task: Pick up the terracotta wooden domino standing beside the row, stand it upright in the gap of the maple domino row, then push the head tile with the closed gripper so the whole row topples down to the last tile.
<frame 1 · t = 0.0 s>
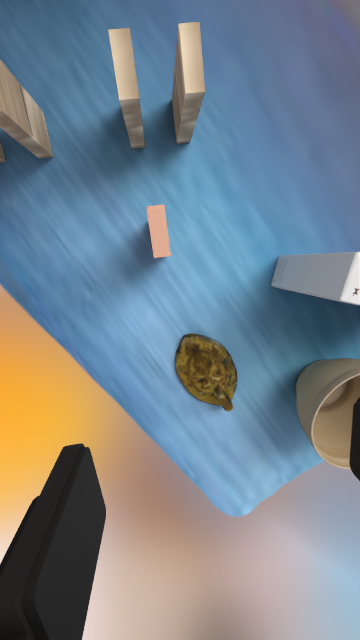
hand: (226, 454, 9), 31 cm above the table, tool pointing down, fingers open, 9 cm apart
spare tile: (158, 237, 36), on the table
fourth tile: (41, 135, 32), on the table
planter bowl: (319, 382, 45), on the table
seal: (206, 368, 43), on the table
head tile: (181, 121, 33), on the table
skincare box: (333, 281, 41), on the table
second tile: (135, 125, 33), on the table
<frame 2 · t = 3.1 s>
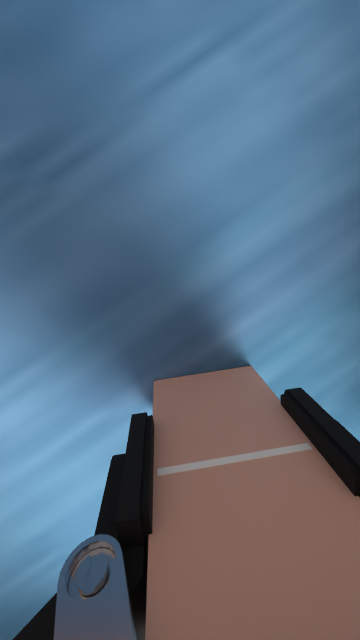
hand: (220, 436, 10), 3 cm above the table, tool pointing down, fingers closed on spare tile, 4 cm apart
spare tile: (204, 388, 13), on the table, touching gripper
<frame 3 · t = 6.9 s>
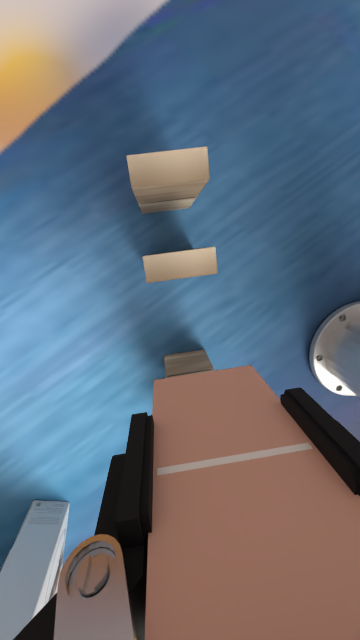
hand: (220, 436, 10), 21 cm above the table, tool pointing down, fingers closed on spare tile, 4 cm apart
last tile: (164, 201, 26), on the table
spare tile: (204, 388, 13), point 17 cm above the table, touching gripper
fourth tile: (172, 260, 28), on the table
skincare box: (49, 552, 38), on the table
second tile: (185, 359, 31), on the table
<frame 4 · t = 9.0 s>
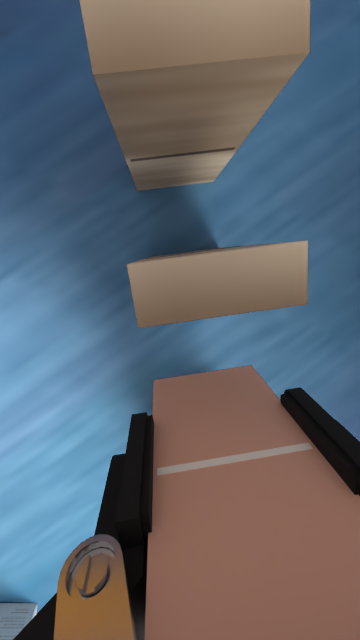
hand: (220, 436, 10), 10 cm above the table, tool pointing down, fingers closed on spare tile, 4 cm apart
last tile: (173, 170, 16), on the table
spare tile: (204, 388, 13), point 7 cm above the table, touching gripper
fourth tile: (185, 265, 18), on the table
when the fingers open (4 cm above the table, at t = 10.9 s): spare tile stays where it is, on the table.
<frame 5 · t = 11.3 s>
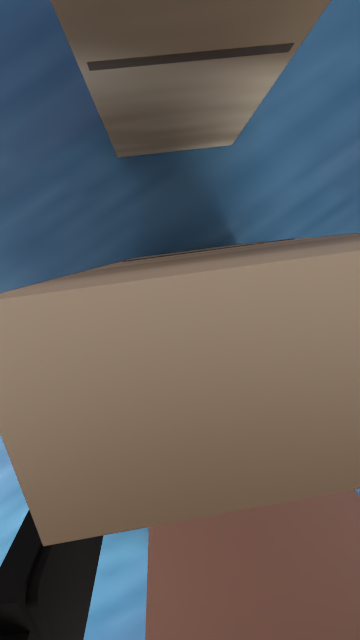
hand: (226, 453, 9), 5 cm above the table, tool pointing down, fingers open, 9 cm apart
last tile: (172, 127, 11), on the table
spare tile: (201, 378, 14), on the table
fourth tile: (188, 269, 12), on the table
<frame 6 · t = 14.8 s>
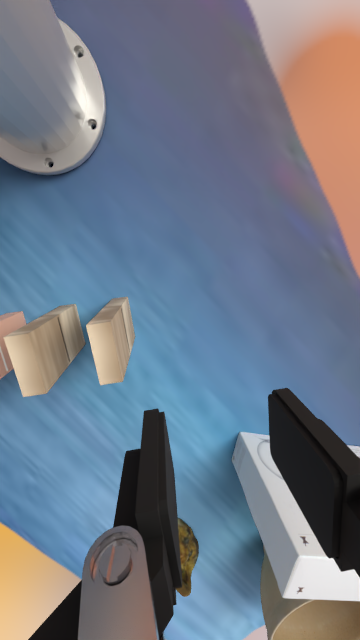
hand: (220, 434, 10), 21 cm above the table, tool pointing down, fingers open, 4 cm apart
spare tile: (20, 332, 29), on the table
planter bowl: (288, 539, 42), on the table
seal: (166, 538, 40), on the table
head tile: (123, 318, 30), on the table
skincare box: (300, 450, 38), on the table
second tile: (73, 325, 30), on the table
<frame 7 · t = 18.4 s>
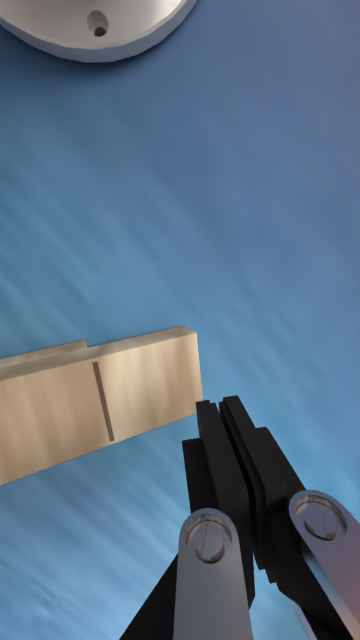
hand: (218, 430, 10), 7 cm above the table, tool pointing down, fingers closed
head tile: (193, 367, 15), point 1 cm above the table, tilted 72°, touching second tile
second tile: (95, 382, 15), point 1 cm above the table, tilted 72°, touching head tile, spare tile
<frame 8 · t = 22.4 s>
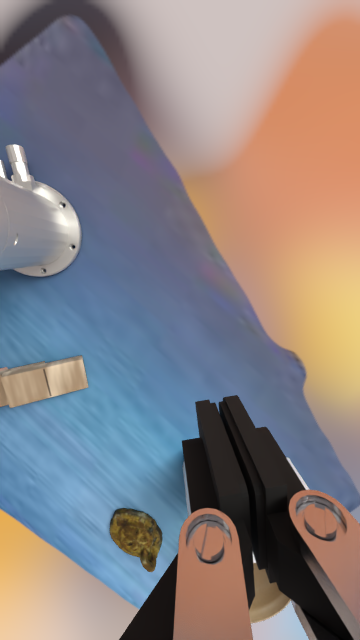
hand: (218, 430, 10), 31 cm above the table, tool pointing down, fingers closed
planter bowl: (232, 528, 54), on the table
seal: (137, 529, 53), on the table
head tile: (85, 371, 41), point 1 cm above the table, tilted 73°, touching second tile
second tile: (47, 377, 41), point 1 cm above the table, tilted 73°, touching head tile, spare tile
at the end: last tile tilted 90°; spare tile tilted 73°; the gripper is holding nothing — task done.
